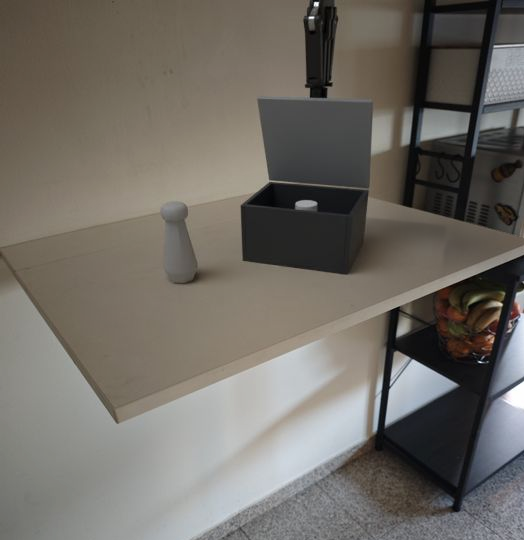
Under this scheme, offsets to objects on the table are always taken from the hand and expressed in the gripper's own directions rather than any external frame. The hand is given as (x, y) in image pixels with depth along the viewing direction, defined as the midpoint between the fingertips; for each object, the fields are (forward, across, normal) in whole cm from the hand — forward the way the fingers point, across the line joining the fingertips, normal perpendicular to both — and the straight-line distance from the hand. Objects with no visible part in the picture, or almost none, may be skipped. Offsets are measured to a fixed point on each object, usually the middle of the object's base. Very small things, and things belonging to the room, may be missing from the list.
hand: (317, 129), depth 88 cm
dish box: (+21, +5, 0) cm, 21 cm away
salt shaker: (+21, +23, -17) cm, 36 cm away
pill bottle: (+20, +5, 0) cm, 21 cm away
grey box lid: (+3, +1, 0) cm, 3 cm away
